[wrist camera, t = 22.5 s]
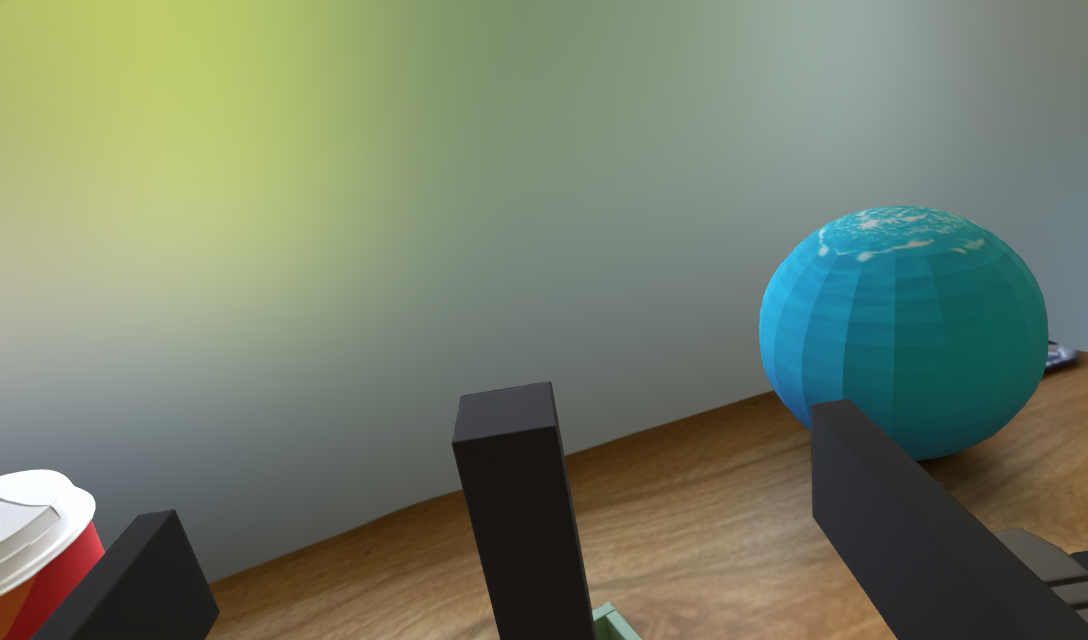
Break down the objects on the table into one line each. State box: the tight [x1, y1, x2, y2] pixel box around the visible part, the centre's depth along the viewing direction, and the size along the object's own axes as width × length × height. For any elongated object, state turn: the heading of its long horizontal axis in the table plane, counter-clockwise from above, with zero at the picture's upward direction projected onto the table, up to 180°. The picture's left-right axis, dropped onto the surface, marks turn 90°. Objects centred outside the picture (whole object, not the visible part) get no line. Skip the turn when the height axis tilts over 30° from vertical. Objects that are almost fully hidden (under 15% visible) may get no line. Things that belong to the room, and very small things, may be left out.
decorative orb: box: [759, 206, 1048, 461], centre depth 38 cm, size 15×15×15 cm
